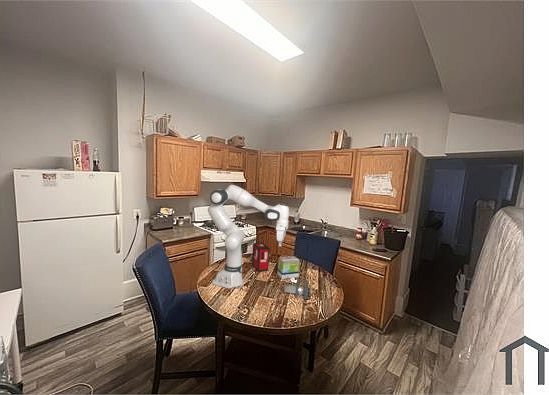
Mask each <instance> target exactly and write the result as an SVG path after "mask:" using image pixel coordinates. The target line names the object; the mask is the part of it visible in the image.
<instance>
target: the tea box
mask: <svg viewBox="0 0 549 395" xmlns="http://www.w3.org/2000/svg"><path fill="white" fill-rule="evenodd" d="M300 263H301V260H300V259H299V258H297V256H294V255H293V256H281V257H278V264H277V273H276V274H277V275H278V276H279V278H280V279H281V280H287V279H294V278H299V275H300V266H301V264H300Z"/></svg>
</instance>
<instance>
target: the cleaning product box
mask: <svg viewBox="0 0 549 395" xmlns="http://www.w3.org/2000/svg"><path fill="white" fill-rule="evenodd" d="M269 261H270V247H269V246H268V245H266V244H265V243H263V242H262V241H261V242H252V258H251V265H252V266H253V268H255V270H256V271H257V272H258V273H262V272H269V267H270V266H269V264H270V263H269Z"/></svg>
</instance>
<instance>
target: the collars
mask: <svg viewBox="0 0 549 395" xmlns="http://www.w3.org/2000/svg"><path fill="white" fill-rule="evenodd" d="M304 283H305V285H304V287H305V292H304V295H303V298H304V299H308V296H307V292H308V288H311V290H310V293H312V286H313V279H310V282H309V281H308V280H305V282H304ZM309 283H310V284H309ZM300 284H301V280H300V279H296V284H295V286H296V293H295V294H294V297H295V298H299V295H300V294H299V287H301V286H300Z"/></svg>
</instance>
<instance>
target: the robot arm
mask: <svg viewBox="0 0 549 395" xmlns="http://www.w3.org/2000/svg"><path fill="white" fill-rule="evenodd" d="M209 200H210V202H211V204H210V205H209V206H208V208H207V213H208V214H209V217H210V218H211V220H212V222H213V224H215V226H216V228H218V230H219V231H220V232H222V233H223V234H224V235H225V236H226V237H225V240H224V247H225V249H226V262H225V263H224V264H223V268H222V269H220V270H219V271H218V272H217V274H216V276H215V277H214V278H213V280H212V283H211V284H212V285H215V286H217V287H218V286H219V287H221V288H222V287H223V288H226V289H232V288H236V287H240V286H242V285H243V284H244V280H243V273H242V272H243V264H242V263H243V252H242V244H243V242H244V240H245V232H244V231H243V230H242V229H240V228H239V227H238V226H237V224H236V223H234V221H233V220H232V219H231V217H230V216H229V214H228V213H227V211H226V210H225V209H224V206H225V204H226V203H227V202H228V200H231V201H232V202H235V203H236V204H238V205H239V206H243V207H253V208H254V209H255V208H256V209H257V210H259V211H260V212H262V213H264V214H263V217H264V219H265V220H266V221H267V222H275V223H276V226H275V231H276V241H277V242H278V247H282V245H283V244H282V243H284V241H285V236H286V234H287V230H288V229H289V219H290V218H289V217H290V208H289V206H288V205H287V204H285V203H278V204H276V205H269V204H266V203H265V202H263V201H261V200H259V199H258V198H256V197H255V196H254V195H252V194H251V193H250V192H249V191H247V190H246V189H244V188H242V187H241V186H238V185H235V184H230V185H228V186H227V187H226V189H222V188H221V189H216V190H213V191H212V192H210V196H209Z"/></svg>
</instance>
